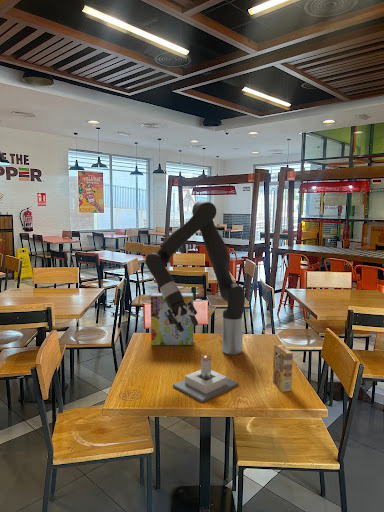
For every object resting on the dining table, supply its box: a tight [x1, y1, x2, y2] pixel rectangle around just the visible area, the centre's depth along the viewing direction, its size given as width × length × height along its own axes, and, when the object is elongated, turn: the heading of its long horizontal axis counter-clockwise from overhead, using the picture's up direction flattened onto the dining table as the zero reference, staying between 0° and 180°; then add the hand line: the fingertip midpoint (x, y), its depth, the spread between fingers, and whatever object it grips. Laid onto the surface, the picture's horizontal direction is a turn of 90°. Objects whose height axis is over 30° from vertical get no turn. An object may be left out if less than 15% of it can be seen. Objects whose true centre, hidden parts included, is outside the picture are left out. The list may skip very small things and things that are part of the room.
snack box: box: [150, 292, 195, 346], centre depth 190 cm, size 22×9×26 cm, turn 89°
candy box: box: [272, 344, 294, 393], centre depth 144 cm, size 9×4×15 cm, turn 13°
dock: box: [172, 369, 239, 404], centre depth 144 cm, size 20×16×4 cm
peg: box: [200, 353, 212, 381], centre depth 144 cm, size 4×4×11 cm
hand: (189, 328), depth 154 cm, fingers open, 8 cm apart
